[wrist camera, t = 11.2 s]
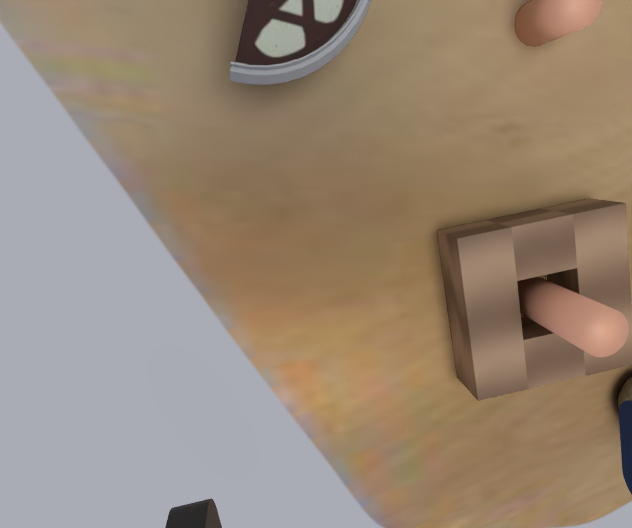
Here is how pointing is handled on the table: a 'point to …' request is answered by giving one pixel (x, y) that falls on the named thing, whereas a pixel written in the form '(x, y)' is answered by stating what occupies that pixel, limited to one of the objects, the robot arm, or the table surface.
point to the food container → (293, 37)
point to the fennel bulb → (625, 392)
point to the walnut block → (503, 300)
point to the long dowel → (573, 316)
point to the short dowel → (554, 19)
